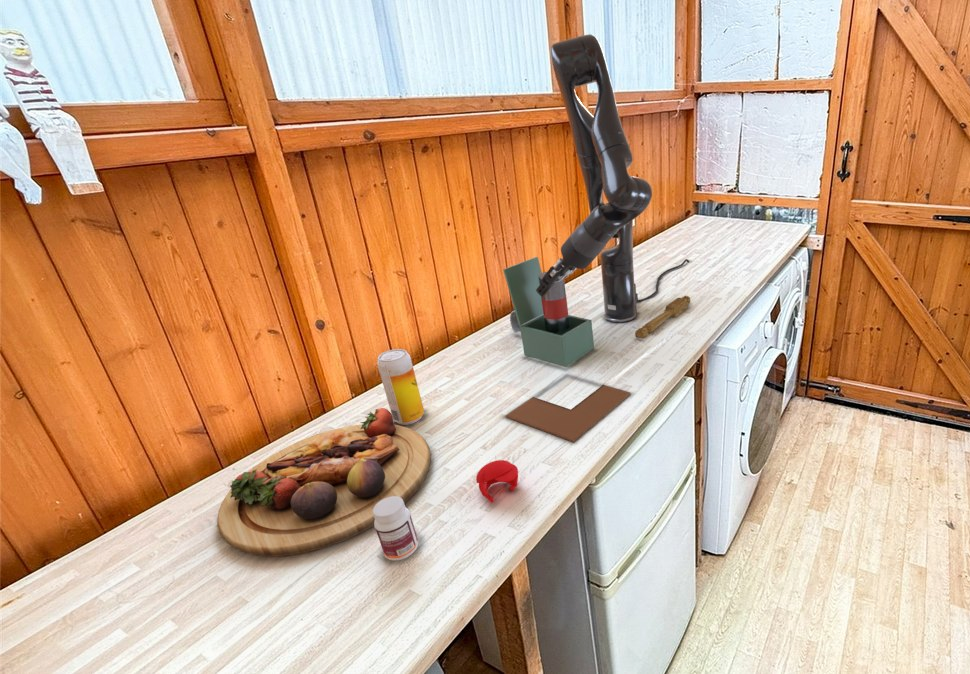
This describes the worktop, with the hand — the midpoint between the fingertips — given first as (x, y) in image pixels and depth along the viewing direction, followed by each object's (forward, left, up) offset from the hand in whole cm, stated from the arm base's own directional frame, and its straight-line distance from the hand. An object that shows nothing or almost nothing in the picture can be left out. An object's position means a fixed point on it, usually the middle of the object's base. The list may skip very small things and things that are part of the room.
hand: (546, 288), depth 127 cm
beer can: (+38, -8, -18) cm, 43 cm away
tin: (0, +2, -10) cm, 10 cm away
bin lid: (0, -6, -2) cm, 6 cm away
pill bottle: (+61, +22, -18) cm, 67 cm away
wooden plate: (+58, -1, -18) cm, 61 cm away
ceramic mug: (-7, -17, -18) cm, 25 cm away
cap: (+45, +26, -18) cm, 55 cm away
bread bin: (0, +1, -18) cm, 18 cm away
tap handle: (-32, +15, -18) cm, 40 cm away
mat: (+18, +19, -18) cm, 32 cm away
